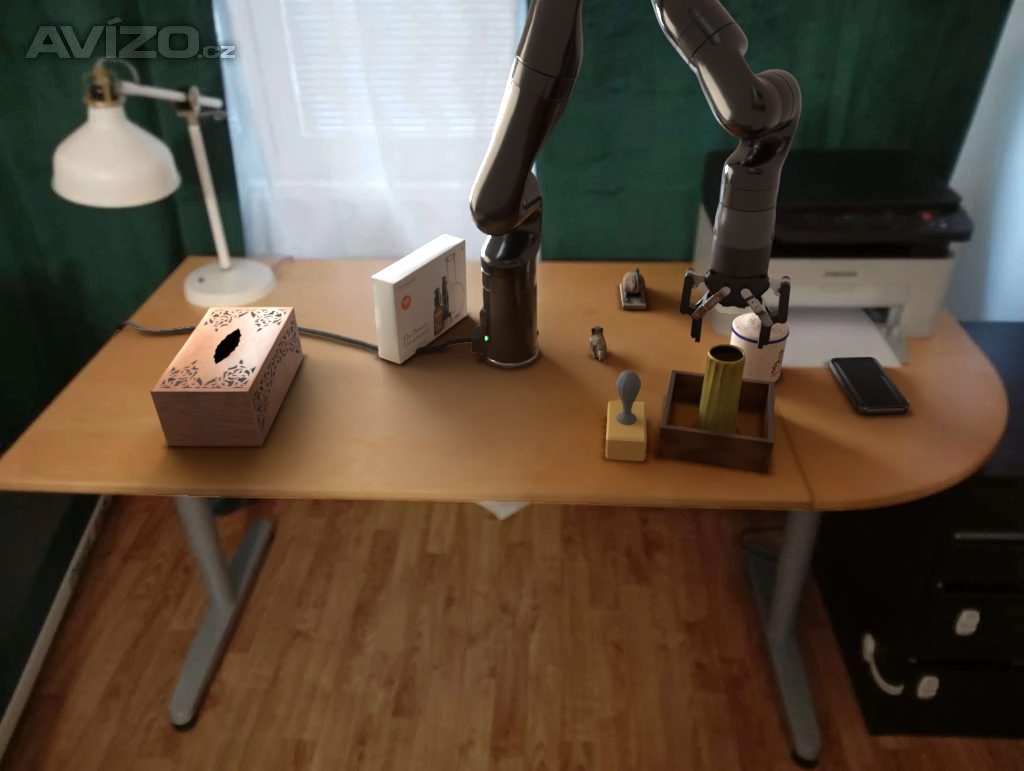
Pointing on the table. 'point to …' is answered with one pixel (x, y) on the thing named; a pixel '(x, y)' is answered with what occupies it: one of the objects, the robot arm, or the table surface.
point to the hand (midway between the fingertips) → (728, 342)
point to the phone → (868, 386)
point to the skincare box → (420, 297)
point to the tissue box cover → (229, 377)
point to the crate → (717, 444)
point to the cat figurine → (598, 343)
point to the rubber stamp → (626, 421)
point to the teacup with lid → (759, 361)
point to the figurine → (633, 290)
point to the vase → (721, 389)
